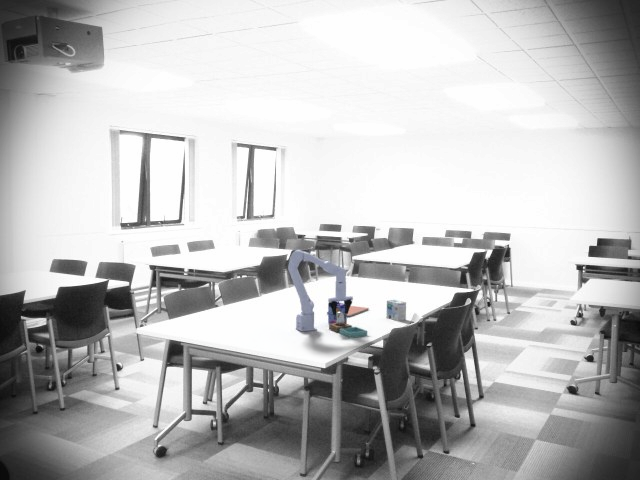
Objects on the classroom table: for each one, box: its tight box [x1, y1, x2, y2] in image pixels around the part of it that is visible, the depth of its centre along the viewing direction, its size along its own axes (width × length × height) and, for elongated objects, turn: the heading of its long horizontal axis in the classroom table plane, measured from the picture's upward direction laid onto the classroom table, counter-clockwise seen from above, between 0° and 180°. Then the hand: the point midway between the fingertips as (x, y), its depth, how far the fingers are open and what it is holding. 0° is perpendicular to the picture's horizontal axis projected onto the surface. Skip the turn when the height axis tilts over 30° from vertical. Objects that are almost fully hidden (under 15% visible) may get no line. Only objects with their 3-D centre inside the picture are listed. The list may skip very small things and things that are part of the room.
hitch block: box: [328, 323, 353, 334], centre depth 308 cm, size 9×9×3 cm
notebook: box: [326, 305, 370, 318], centre depth 358 cm, size 27×17×2 cm, turn 148°
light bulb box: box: [386, 299, 407, 322], centre depth 338 cm, size 11×7×11 cm, turn 33°
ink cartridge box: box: [327, 300, 348, 325], centre depth 322 cm, size 10×6×14 cm, turn 51°
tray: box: [339, 326, 368, 339], centre depth 299 cm, size 11×11×2 cm
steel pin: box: [337, 311, 344, 326], centre depth 308 cm, size 4×4×10 cm
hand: (340, 314), depth 308 cm, fingers open, 7 cm apart
